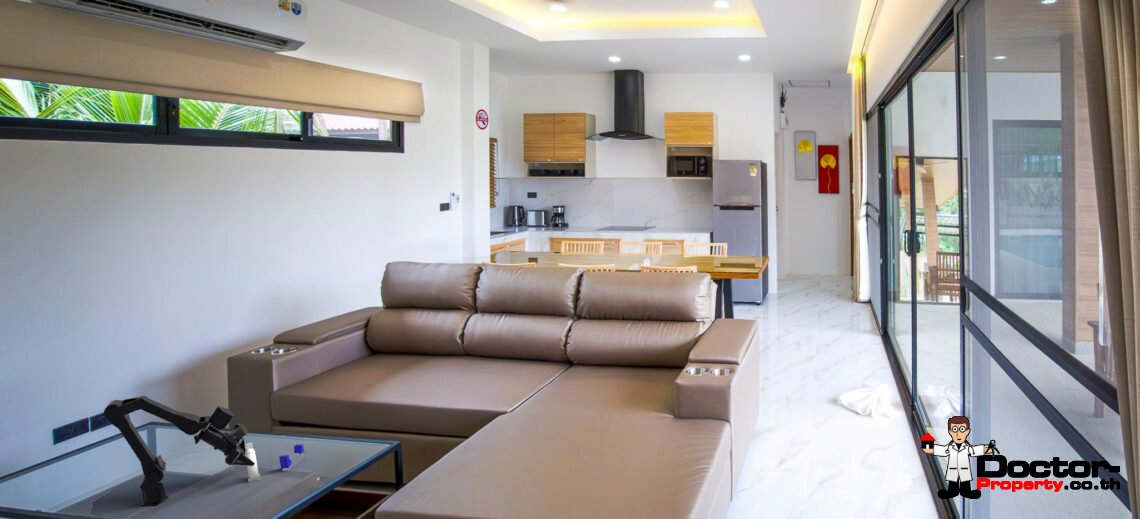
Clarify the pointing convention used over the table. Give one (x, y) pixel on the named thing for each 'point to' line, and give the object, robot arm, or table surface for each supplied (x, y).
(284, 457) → the blue blocks
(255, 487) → the table surface
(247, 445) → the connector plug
